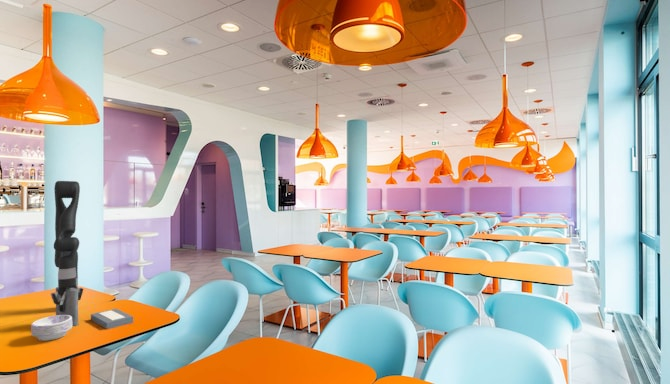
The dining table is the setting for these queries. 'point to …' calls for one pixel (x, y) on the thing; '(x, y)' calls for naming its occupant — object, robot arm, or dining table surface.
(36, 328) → the paper bowls
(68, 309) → the hip flask
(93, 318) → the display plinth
